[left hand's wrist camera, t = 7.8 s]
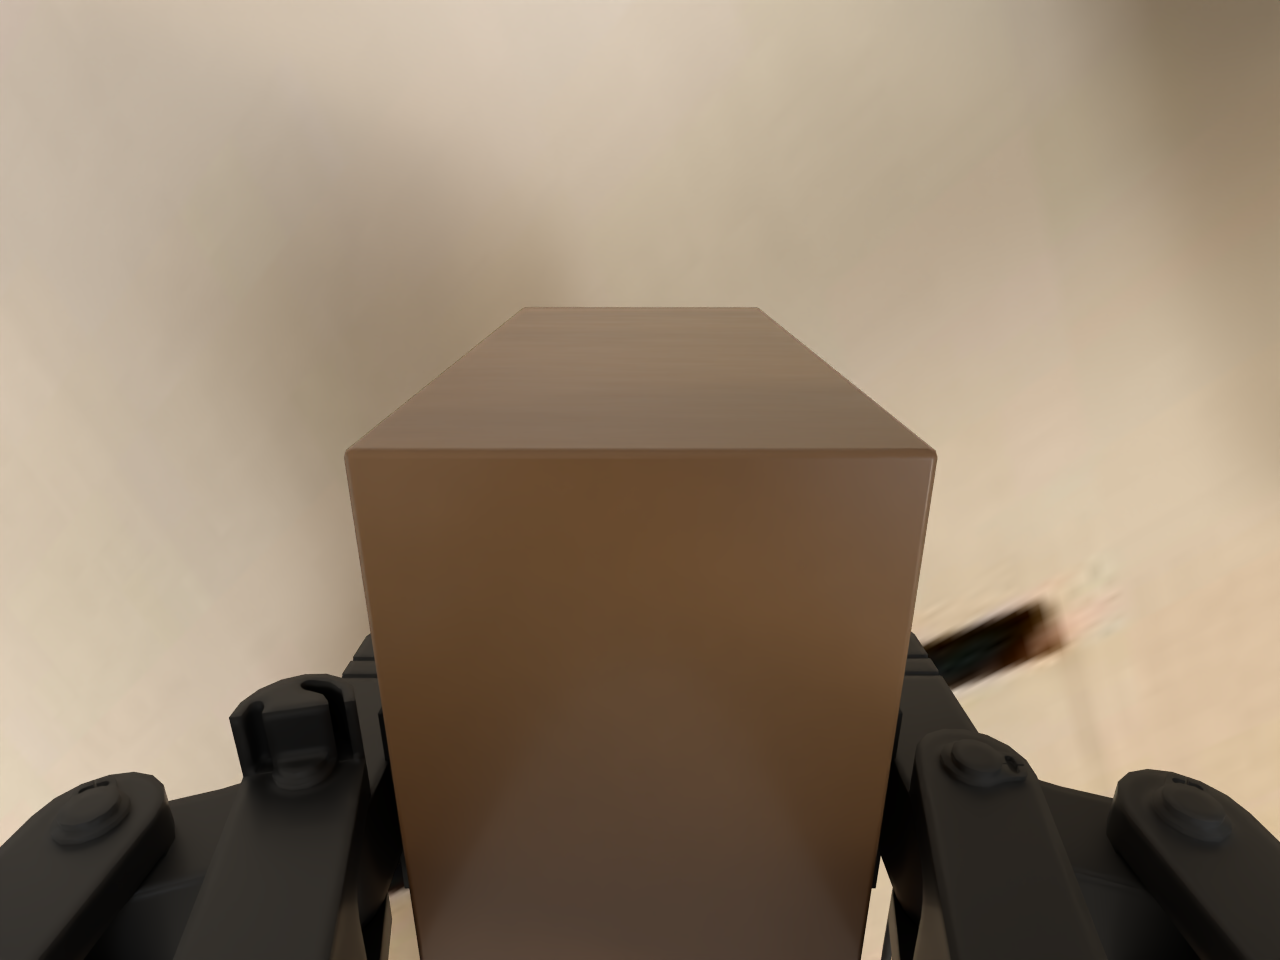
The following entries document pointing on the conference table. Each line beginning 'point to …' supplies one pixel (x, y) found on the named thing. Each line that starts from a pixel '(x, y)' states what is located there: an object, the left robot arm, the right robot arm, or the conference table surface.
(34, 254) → the conference table surface
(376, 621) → the beam
